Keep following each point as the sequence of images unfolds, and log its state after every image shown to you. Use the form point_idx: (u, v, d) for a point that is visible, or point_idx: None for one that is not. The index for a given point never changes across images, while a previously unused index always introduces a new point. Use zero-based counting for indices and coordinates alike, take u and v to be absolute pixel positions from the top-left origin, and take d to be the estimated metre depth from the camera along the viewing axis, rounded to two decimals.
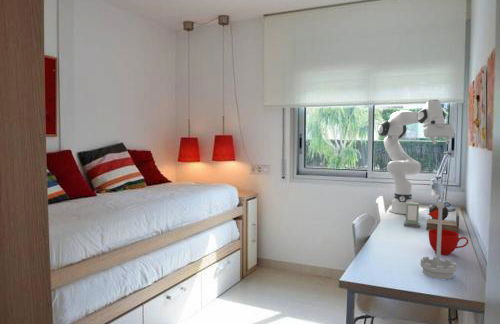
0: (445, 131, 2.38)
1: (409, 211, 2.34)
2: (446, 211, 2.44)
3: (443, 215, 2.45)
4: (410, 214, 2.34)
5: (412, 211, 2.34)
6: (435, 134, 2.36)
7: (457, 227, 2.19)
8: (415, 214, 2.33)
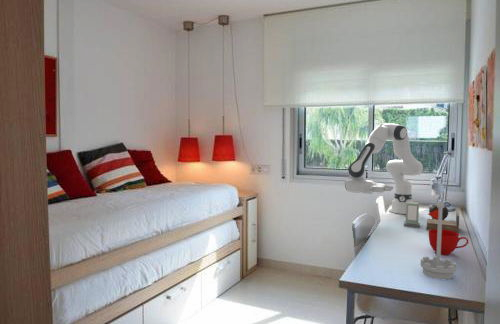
0: None
1: (409, 211, 2.34)
2: (446, 211, 2.44)
3: (443, 215, 2.45)
4: (410, 214, 2.34)
5: (412, 211, 2.34)
6: None
7: (457, 227, 2.19)
8: (415, 214, 2.33)
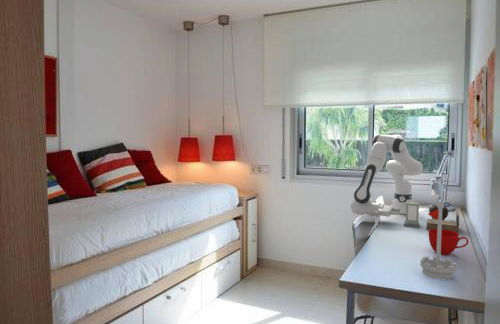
0: None
1: (409, 211, 2.34)
2: (446, 211, 2.44)
3: (443, 215, 2.45)
4: (410, 214, 2.34)
5: (412, 211, 2.34)
6: None
7: (457, 227, 2.19)
8: (415, 214, 2.33)
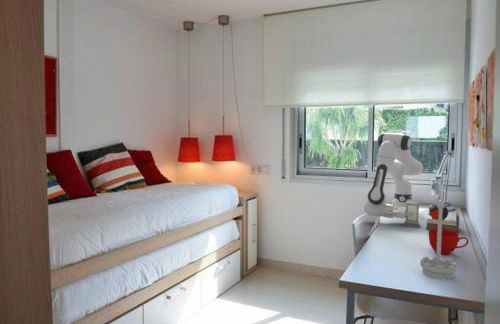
0: None
1: (409, 211, 2.34)
2: (446, 211, 2.44)
3: (443, 215, 2.45)
4: None
5: (412, 211, 2.34)
6: None
7: (457, 227, 2.19)
8: (415, 214, 2.33)
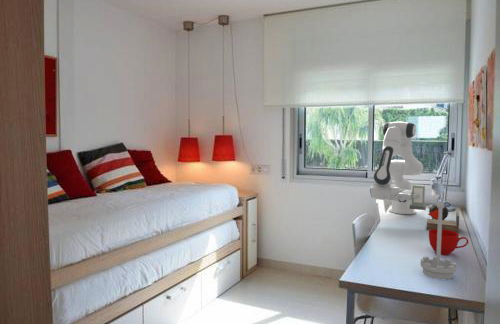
0: None
1: (415, 193, 2.32)
2: (446, 211, 2.44)
3: (443, 215, 2.45)
4: None
5: (418, 193, 2.32)
6: None
7: (457, 227, 2.19)
8: (421, 196, 2.31)
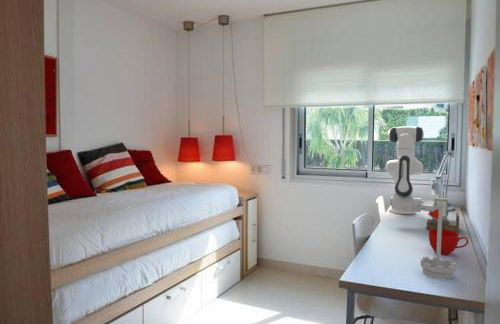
0: None
1: None
2: None
3: None
4: None
5: None
6: None
7: (457, 227, 2.19)
8: (444, 210, 2.26)
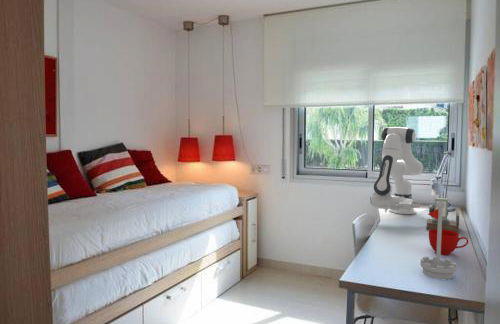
0: None
1: None
2: None
3: None
4: None
5: None
6: None
7: (457, 227, 2.19)
8: (444, 210, 2.26)
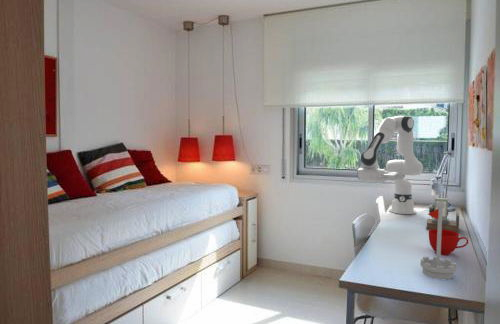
0: None
1: None
2: None
3: None
4: None
5: None
6: None
7: (457, 227, 2.19)
8: (444, 210, 2.26)
